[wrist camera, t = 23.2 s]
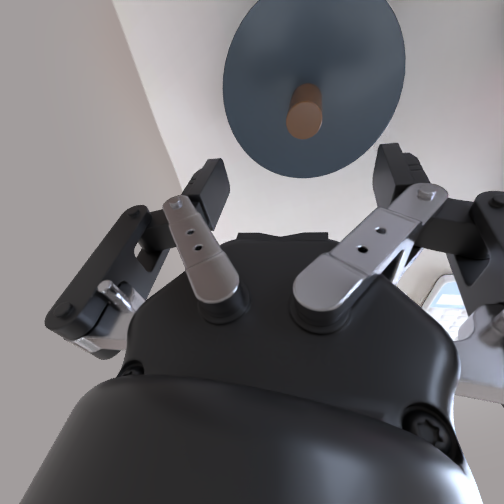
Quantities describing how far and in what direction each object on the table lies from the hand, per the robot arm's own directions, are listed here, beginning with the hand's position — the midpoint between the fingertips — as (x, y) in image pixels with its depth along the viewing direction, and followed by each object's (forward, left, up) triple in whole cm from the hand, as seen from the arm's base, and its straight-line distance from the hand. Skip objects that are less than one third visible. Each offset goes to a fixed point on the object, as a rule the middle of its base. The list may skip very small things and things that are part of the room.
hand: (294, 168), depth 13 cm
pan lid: (0, 0, -12) cm, 12 cm away
